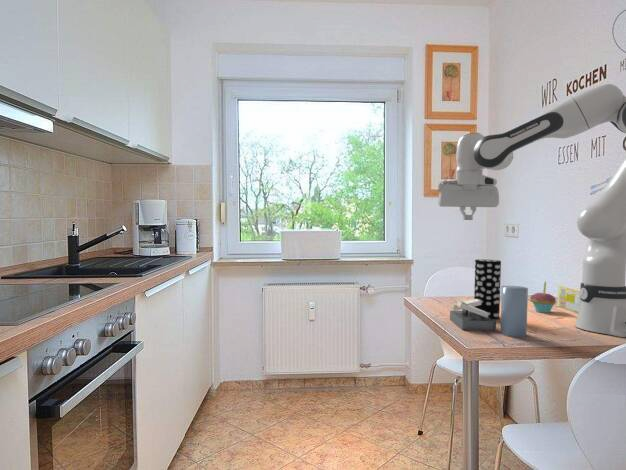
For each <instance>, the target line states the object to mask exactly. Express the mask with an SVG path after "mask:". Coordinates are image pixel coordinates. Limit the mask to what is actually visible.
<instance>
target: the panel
mask: <svg viewBox="0 0 626 470" xmlns="http://www.w3.org/2000/svg"><path fill="white" fill-rule="evenodd" d="M449 320H450V321H451V322H453V324H455V325H456V326H457V327H458V328H460V330H462V331H482V332H483V331H485V332H486V331H487V332H496V331H497V321H496V320H493V319H491V318H490V317H487V318H486V317H484V316H481V315H479V314H476V313H473V312H471V311H468V310H466V309H461V310H456V311H453V310H449Z"/></svg>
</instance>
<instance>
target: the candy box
mask: <svg viewBox="0 0 626 470" xmlns="http://www.w3.org/2000/svg"><path fill="white" fill-rule="evenodd" d="M557 289H558V290H557V301H556V302H557V303H556V304H557V305H556V306H557V307H559V308H562V309H563V310H564V309H565V310H568V311H571V312H573V313H576V314H579V309H580V304H581V299H580V290H578V289H573V288H569V287H565V286H558V288H557Z"/></svg>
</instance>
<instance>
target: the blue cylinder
mask: <svg viewBox="0 0 626 470" xmlns="http://www.w3.org/2000/svg"><path fill="white" fill-rule="evenodd" d="M528 294H529V288H528V287H525V286H519V285H501V293H500V334H501V335H503V336H506V335H507V336H506V337H510V336H512V337H511V338H525V337H527V331H528V330H527V328H528V325H527V324H528V301H529V300H528V297H529V296H528Z"/></svg>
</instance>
